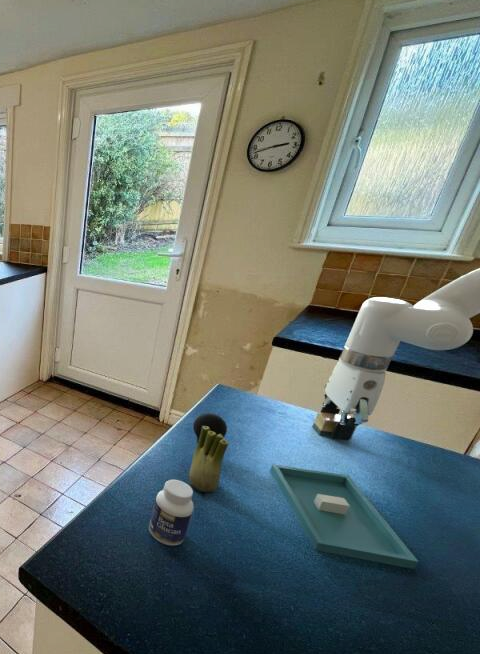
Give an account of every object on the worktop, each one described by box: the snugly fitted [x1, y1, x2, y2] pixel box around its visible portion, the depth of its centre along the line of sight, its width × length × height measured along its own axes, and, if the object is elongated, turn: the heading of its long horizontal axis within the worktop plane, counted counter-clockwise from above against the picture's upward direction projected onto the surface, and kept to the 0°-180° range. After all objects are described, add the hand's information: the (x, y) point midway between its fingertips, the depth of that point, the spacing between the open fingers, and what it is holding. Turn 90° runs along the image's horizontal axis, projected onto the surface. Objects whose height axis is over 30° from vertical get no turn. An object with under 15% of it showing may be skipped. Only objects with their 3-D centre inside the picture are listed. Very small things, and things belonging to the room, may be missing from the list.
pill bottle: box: [148, 479, 195, 547], centre depth 66 cm, size 5×5×10 cm
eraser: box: [312, 411, 357, 440], centre depth 93 cm, size 6×4×4 cm, turn 74°
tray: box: [269, 463, 420, 570], centre depth 71 cm, size 13×20×2 cm, turn 164°
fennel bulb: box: [188, 426, 229, 493], centre depth 76 cm, size 6×5×12 cm
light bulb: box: [192, 412, 228, 444], centre depth 84 cm, size 6×6×10 cm
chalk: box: [314, 494, 350, 515], centre depth 72 cm, size 4×2×2 cm, turn 74°
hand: (332, 430), depth 93 cm, fingers open, 5 cm apart
